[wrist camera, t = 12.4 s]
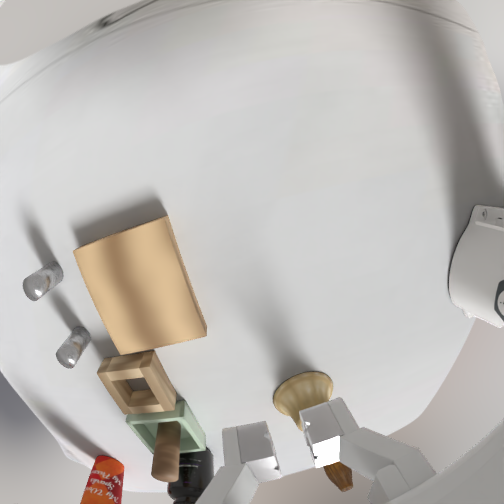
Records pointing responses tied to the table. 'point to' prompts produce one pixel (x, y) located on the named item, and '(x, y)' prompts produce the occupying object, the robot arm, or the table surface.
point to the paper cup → (104, 482)
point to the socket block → (138, 366)
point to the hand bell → (305, 396)
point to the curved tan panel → (141, 287)
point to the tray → (148, 422)
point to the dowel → (167, 452)
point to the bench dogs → (41, 285)
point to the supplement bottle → (192, 477)
